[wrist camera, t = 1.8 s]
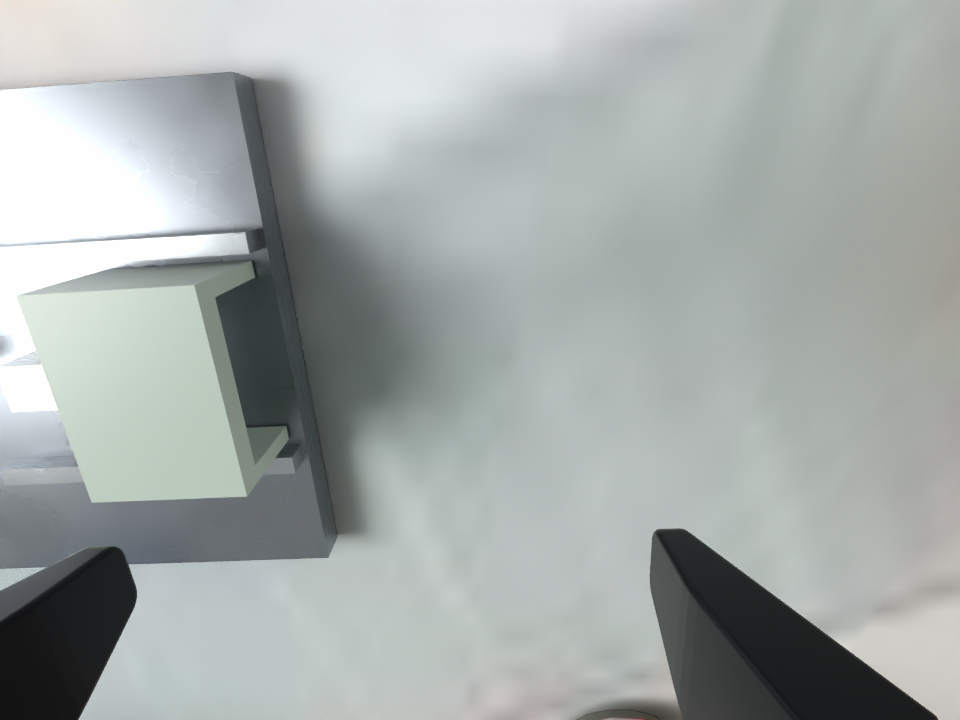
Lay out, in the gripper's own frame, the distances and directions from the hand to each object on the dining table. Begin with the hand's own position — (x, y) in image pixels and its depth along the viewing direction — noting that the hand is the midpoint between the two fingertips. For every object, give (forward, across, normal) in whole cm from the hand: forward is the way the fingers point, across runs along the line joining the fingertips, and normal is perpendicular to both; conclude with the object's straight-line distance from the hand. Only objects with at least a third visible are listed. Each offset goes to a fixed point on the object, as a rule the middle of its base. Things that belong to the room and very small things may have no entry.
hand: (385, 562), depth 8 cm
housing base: (+11, +12, 0) cm, 17 cm away
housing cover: (+10, +8, 0) cm, 13 cm away
